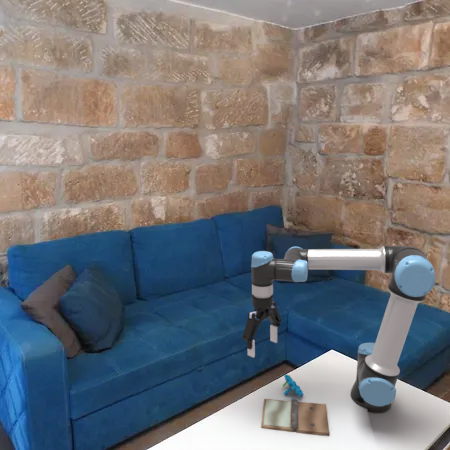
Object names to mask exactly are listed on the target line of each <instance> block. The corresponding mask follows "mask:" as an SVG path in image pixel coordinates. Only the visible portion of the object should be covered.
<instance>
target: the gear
mask: <svg viewBox="0 0 450 450" xmlns="http://www.w3.org/2000/svg"><path fill="white" fill-rule="evenodd" d="M283 376H284V380H285V382H284V383H283V384H282V387H285V386H286V385H287V386H288V388H287V389H286V390H285V391H284V392H283V394H284V395H285V396H287V394H289V393H290V391H295V394H297V395H299V397H303V396H304V393H303V390H302V389H301V387H300V386H299V385H298V384H297V382H296V381H295V380H294V379H293V378H292V377H291V375H289V374H285V375H283Z"/></svg>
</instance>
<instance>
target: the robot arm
mask: <svg viewBox="0 0 450 450" xmlns="http://www.w3.org/2000/svg"><path fill="white" fill-rule="evenodd" d="M250 267H251V268H250V269H251V294H252V295H251V304H252V306H253V311H248V312H247V319H246V323H245V326H244V330H243V334H242V340H244V341H246V348H247V356H249V357H251V358H255V356H256V346H255V345H256V344H255V336H256V334H257V331H258V328H259V326H260V325H261V324H262V323H263V321H264V320H265V319H267V320H268V321H269V322H270V323H271V324H270V325H269V327H270V328H269V333H270V335H269V337H270V338H269V339H270V342H272V343H275V344H277V343H278V331H279V330H278V329H279V328H278V327H280V326H281V323H282V318H281V315H280V312H279V310H278V308H277V302H276V301H274V296H273V294H274V281H282V282H284V281H285V282H294V283H298V282H299V283H300V282H301V283H305V282H307V279H308V271H309V270H320V271H321V270H332V271H333V270H334V271H337V270H338V271H339V270H340V271H346V270H347V271H381V272H382V273H383V274H391V276H390V279H389V281H388V287H387V290H388V292H389V293H390V297H389V298H388V302H387V305H386V308H385V312H384V314H383V317H382V320H381V324H380V327H379V330H378V333H377V337H376V339H375V342H365V343H361V344H360V345H359V346H358V350H357V364H356V375H355V377H356V378H355V381H354V383H353V385H352V388H351V390H350V399H351V400H352V402H354V403H355V404H356V405H358V406H359V407H361V408H363V409H366V411H367V412H368V413H372V414H381V413H385V412H387V411H389V410H391V407H392V403H393V401H394V400H395V399H396V397H397V396H396V395H397V388H396V384H397V381H398V379H399V375H400V372H401V370H400V367H399V366H398V363H399V360H400V357H401V355H402V351H403V349H404V348H403V347H404V345H405V342H406V339H407V336H408V333H409V331H410V328H411V325H412V322H413V319H414V315H415V313H416V311H417V310H416V309H417V307H418V304H421V303H422V302H425V300H426V296H427V294H429V293H430V292H431V291H432V290H433V288H434V286H435V284H436V280H437V276H436V271H435V268H434V266H433V263H431V261H429V259H428V258H427V255H426V254H425V252H423V251H422V250H421V249H419V248H417V247H415V246H409V245H382V246H381V247H380V248H322V249H321V248H317V249H316V248H315V249H314V248H313V249H308V248H307V249H306V248H302V247H300V246H292V247H290V248H288V250H287V251H286V252H285V254H284V257H283V258H274V254H273V253H272V252H271V251H266V250H259V251H255V252H254V253H253V254H252V255H251V265H250Z"/></svg>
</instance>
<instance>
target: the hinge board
mask: <svg viewBox="0 0 450 450" xmlns="http://www.w3.org/2000/svg"><path fill="white" fill-rule="evenodd" d="M262 407H263V408H262V417H261V419H262V420H261V429H264V430H272V431H274V430H275V431H281V432H287V433H288V432H289V433H297V434H306V435H313V436H314V435H317V436H324V437H325V436H326V437H330V428H329V419H328V410H327V403H316V402H305V401H298V399H295V398H293V399H292V400H283V399H282V400H281V399H270V398H263V406H262Z"/></svg>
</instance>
